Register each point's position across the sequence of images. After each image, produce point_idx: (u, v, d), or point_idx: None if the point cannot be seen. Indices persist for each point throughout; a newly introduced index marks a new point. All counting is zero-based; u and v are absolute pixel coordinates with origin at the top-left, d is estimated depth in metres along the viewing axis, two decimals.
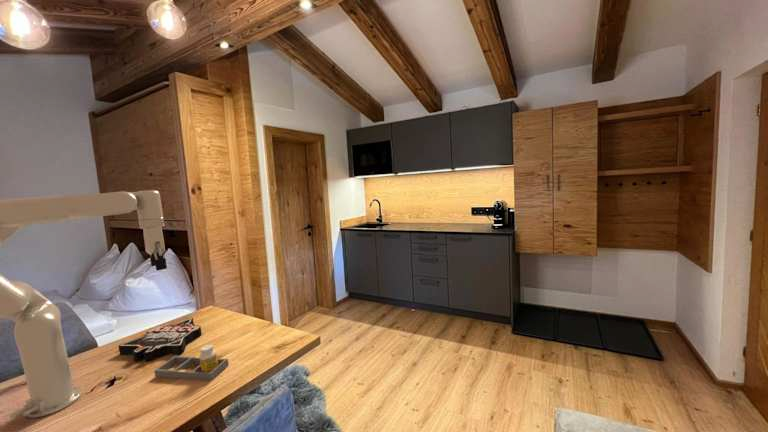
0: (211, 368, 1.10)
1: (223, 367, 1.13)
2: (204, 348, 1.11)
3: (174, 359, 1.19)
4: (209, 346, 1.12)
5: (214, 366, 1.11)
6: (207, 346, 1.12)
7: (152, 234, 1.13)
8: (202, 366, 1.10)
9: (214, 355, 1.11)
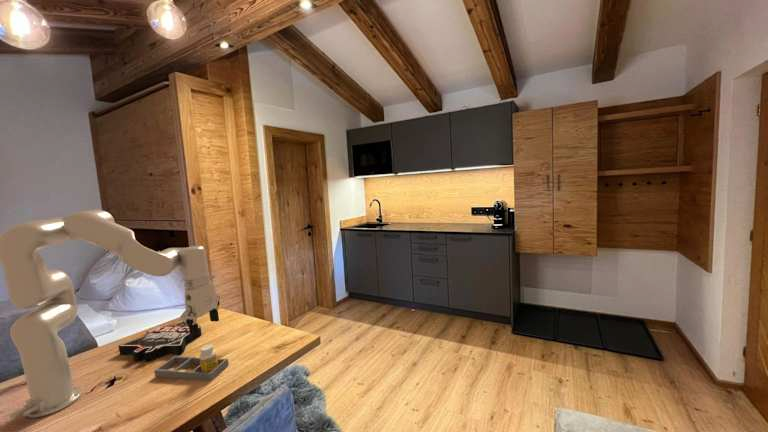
0: (211, 368, 1.10)
1: (223, 367, 1.13)
2: (204, 348, 1.11)
3: (174, 359, 1.19)
4: (209, 346, 1.12)
5: (214, 366, 1.11)
6: (207, 346, 1.12)
7: None
8: (202, 366, 1.10)
9: (214, 355, 1.11)
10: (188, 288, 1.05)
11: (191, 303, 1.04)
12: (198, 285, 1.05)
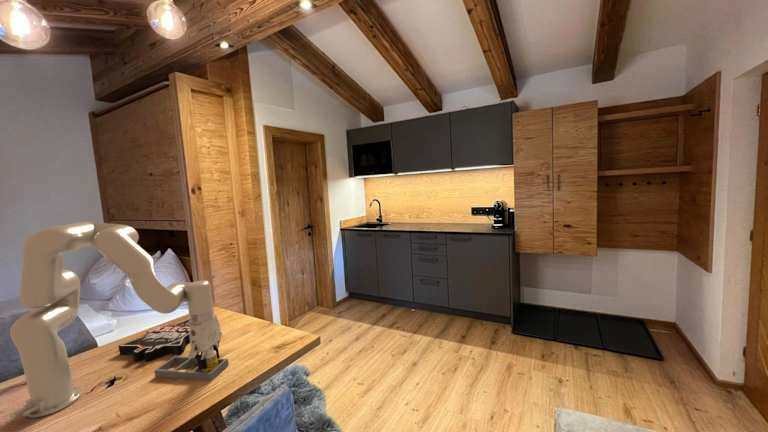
0: (211, 368, 1.10)
1: (223, 367, 1.13)
2: None
3: (174, 359, 1.19)
4: None
5: (214, 366, 1.11)
6: None
7: None
8: None
9: (214, 355, 1.11)
10: (193, 323, 1.06)
11: (196, 338, 1.06)
12: (203, 320, 1.07)
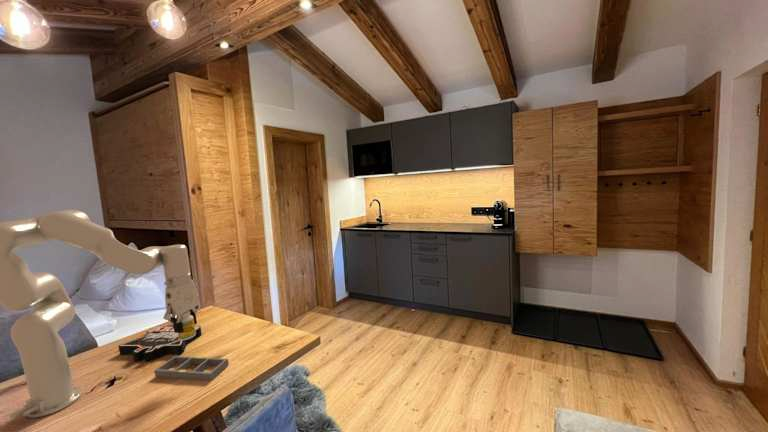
0: (188, 332, 1.10)
1: (223, 367, 1.13)
2: None
3: (174, 359, 1.19)
4: None
5: (191, 330, 1.11)
6: None
7: None
8: None
9: (191, 319, 1.11)
10: (169, 286, 1.06)
11: (171, 301, 1.05)
12: (179, 283, 1.06)
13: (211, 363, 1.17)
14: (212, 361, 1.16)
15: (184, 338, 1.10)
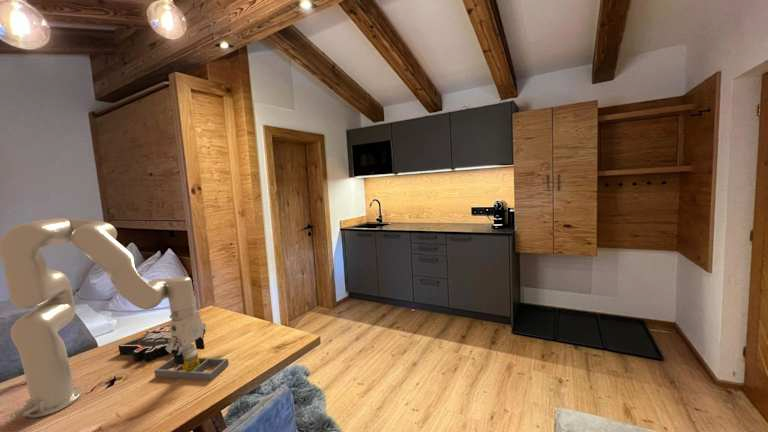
0: (192, 367, 1.11)
1: (223, 367, 1.13)
2: (185, 348, 1.12)
3: None
4: (190, 346, 1.13)
5: (195, 365, 1.12)
6: (188, 346, 1.13)
7: None
8: (183, 365, 1.11)
9: (195, 354, 1.12)
10: (174, 319, 1.08)
11: (176, 334, 1.07)
12: (184, 316, 1.08)
13: (211, 363, 1.17)
14: (212, 361, 1.16)
15: None
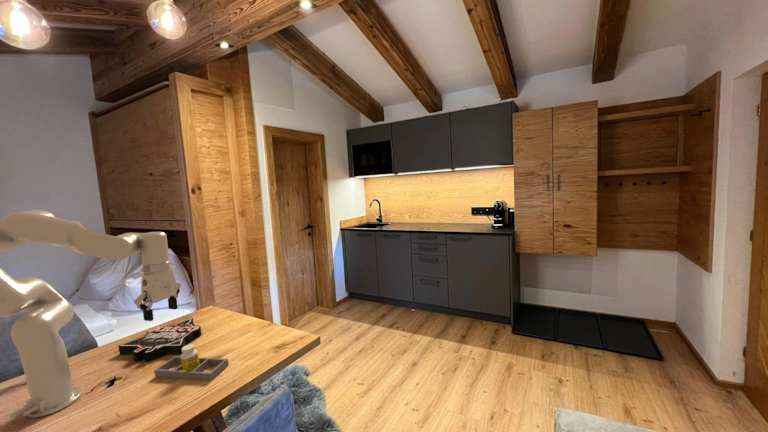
0: (192, 367, 1.11)
1: (223, 367, 1.13)
2: (185, 348, 1.12)
3: (174, 359, 1.19)
4: (190, 346, 1.13)
5: (195, 365, 1.12)
6: (188, 346, 1.13)
7: None
8: (183, 365, 1.11)
9: (195, 354, 1.12)
10: (145, 273, 1.05)
11: (147, 288, 1.04)
12: (156, 271, 1.05)
13: (211, 363, 1.17)
14: (212, 361, 1.16)
15: None
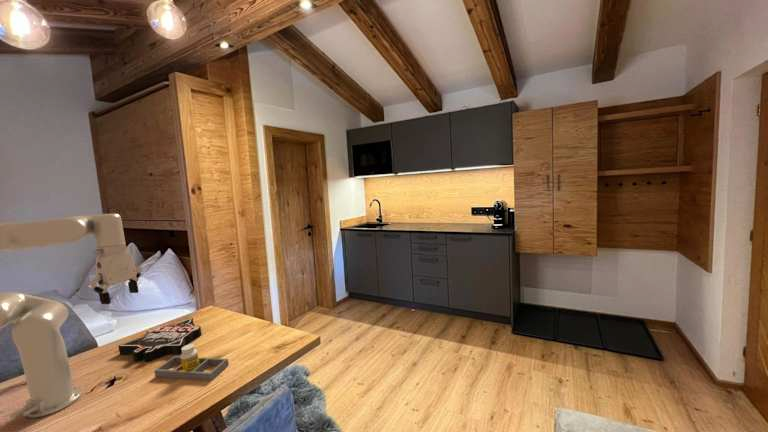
0: (192, 367, 1.11)
1: (223, 367, 1.13)
2: (185, 348, 1.12)
3: (174, 359, 1.19)
4: (190, 346, 1.13)
5: (195, 365, 1.12)
6: (188, 346, 1.13)
7: None
8: (183, 365, 1.11)
9: (195, 354, 1.12)
10: (99, 255, 1.02)
11: (101, 271, 1.01)
12: (110, 253, 1.02)
13: (211, 363, 1.17)
14: (212, 361, 1.16)
15: None
